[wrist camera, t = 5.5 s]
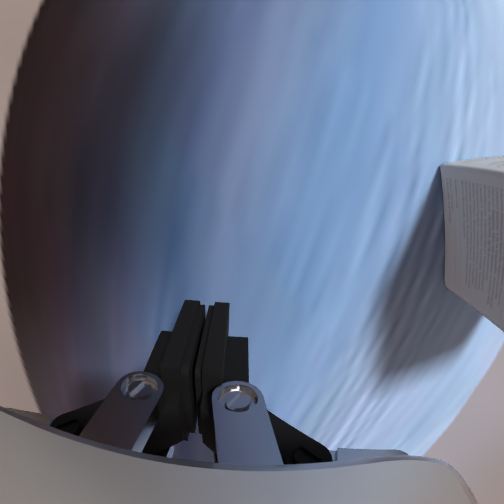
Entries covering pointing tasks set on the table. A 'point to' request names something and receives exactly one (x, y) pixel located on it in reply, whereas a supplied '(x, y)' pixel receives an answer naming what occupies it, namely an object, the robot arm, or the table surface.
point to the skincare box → (475, 233)
